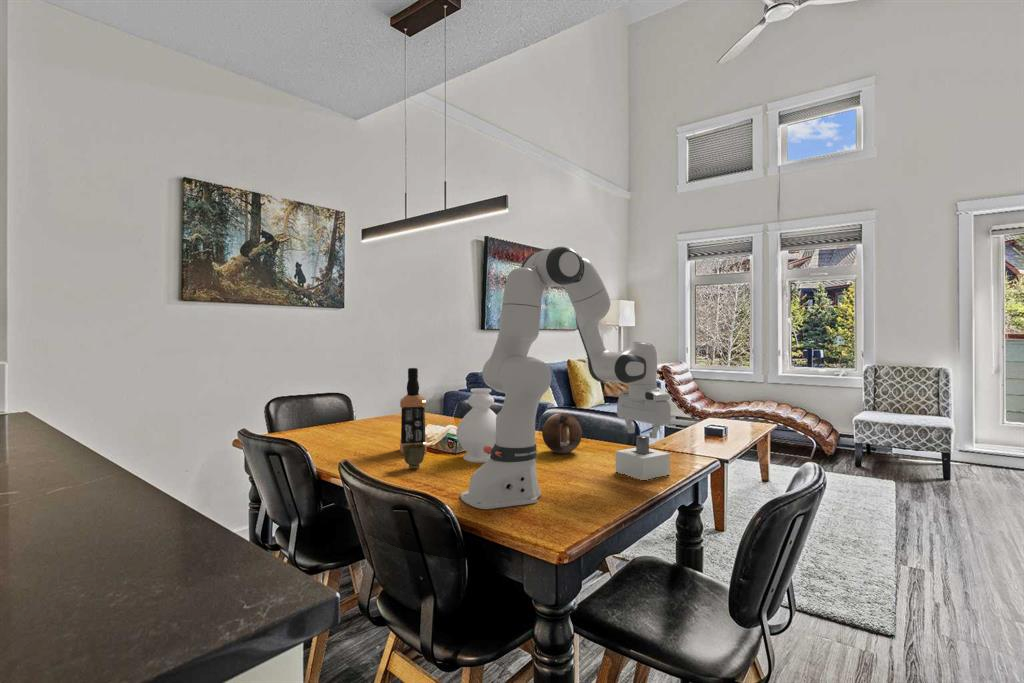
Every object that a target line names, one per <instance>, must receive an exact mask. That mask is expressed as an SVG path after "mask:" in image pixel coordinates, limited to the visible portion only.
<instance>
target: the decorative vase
mask: <svg viewBox="0 0 1024 683" xmlns="http://www.w3.org/2000/svg"><path fill="white" fill-rule="evenodd" d="M470 392H471V393H472V394H471V395H470V396H469V397H468V399H467V402H468V405H470V407H471V409H470V410H469V411H468V412H467V413H466V414H465V415H464V416H463V418H461V420H460V421H459V423H458V425H457V427H456V430H455V431H456V434H455V436H456V440H457V441H458V443H459V444H460V446H461V447H462V448H463V450H464V451H465V452H466V453H467V454H464V456H463V460H464V461H466V462H471V463H485V462H487V461H488V460H489V459H490V455H491V453H490V454H487V453H484V451H485V450H483V448H486V447H485V446H489V447H491V448H493V447H494V445H495V443H496V416H497V414H496V412H494V411H493V410H492V409H491V406H492V405H493V404H494V402H495V398H494V397H493V396H492V395H491V394H490V393H491V392H492V388H486V387H485V388H484V387H482V388H476V387H475V388H471V389H470Z"/></svg>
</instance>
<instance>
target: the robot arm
mask: <svg viewBox="0 0 1024 683" xmlns="http://www.w3.org/2000/svg"><path fill="white" fill-rule="evenodd" d="M560 286H562V287H563V288H564V289H565V291H566V292H567V296H568V298H569V301H570V302H571V304H572V307H573V310H574V313H575V322H576V327H577V331H578V333H579V336H580V339H581V342H582V346H583V347H584V351H585V353H586V357H587V366H588V371H589V374H590V376H591V377H592V378H593V379H594V380H596V381H597V382H600V383H617V384H618V383H619V384H628V390H625V389H622V390H621V391H620V392H619V393H618V400H617V404H616V405H617V406H616V416H617V417H618V418H619V419H625V425H626V427H627V433H628V434H635V433H636V432H635V431H636V430H635V429H636V428H635V427H634V426H633V422H634V421H635V422H640V423H641V422H642V423H645V424H649V425H650V424H651V428H652V431H651V432H649V436H648V437H649V439H657V438H658V433H659V430H660V429H661V426H663V427H664V426H669V425H670V423H671V420H672V419H671V412H672V411H671V404H670V402H669V401H670V398H671V394H670V393H669V392H666V391H665V390H663V389H661V388H659V387H658V381H657V377H656V376H657V373H658V372H657V371H658V355H657V354H658V353H657V349H656V347H655V345H653V344H652V343H650V342H649V343H648V342H645V341H644V342H643V341H633V342H632V343H631V344H630V345H629V346H627V348H624V349H623V350H620V351H619V352H616V351H609V350H608V349H607V348H606V347H605V345H604V342H603V339H602V337H601V333H600V330H599V322H600V321H601V320H602V319H604V318H605V317H606V316H607V315H608V313H609V311H610V308H611V300H610V296H609V293H608V290H607V289H606V286H605V284H604V282H603V280H602V278H601V276H600V274H599V273H598V271H597V269H596V267H595V266H594V264H593V263H592V262H591V261H590V260H589V259H587V258H582V257H581V255H579V253H578V252H577V251H576V250H574V249H573V248H571V247H568V246H557V247H555V248H554V247H553V248H545V249H542V250H540V251H538V252H535V253H531V254H530V255H528V256H527V257H526V258H525V260H523V262H522V263H521V266H520V267H517V268H513V269H512V270H511V271H510V272H509V273H508V275H507V279H506V281H505V285H504V290H503V296H502V304H501V312H500V321H499V322H500V323H499V330H498V335H497V340H495V341H496V342H495V344H494V347H493V350H492V353H491V355H490V357H489V358H488V359H487V361H486V362H485V363H484V364H483V367H482V371H481V372H482V373H481V374H482V375H481V376H482V379H483V382H484V383H485V384H486V385H487V386H488V387H489V388H490V389H491V390H494V391H495V392H498V393H501V394H504V395H505V396H504V401H503V404H502V407H501V409H500V411H499V412H497V414H496V415H497V416H496V443H495V445H494V447H493V448H491V447H489V446H485V447H486V448H483V450H485V451H484V453H487V454H490V453H491V455H490V459H489V460H488V461H487V462H483V464H482V465H481V466H480V467H479V468H477V470H476V471H475V472H473V473H472V474H471V476H470V480H469V486H468V490H464V491H462V492H461V494H460V499H461V501H462V502H464V503H465V504H467V505H469V506H471V507H473V508H477V509H480V510H491V509H498V508H508V507H513V506H514V507H515V506H516V507H517V506H522V505H530V504H536V503H537V502H538V498H540V497H541V495H542V493H541V490H540V485H539V481H538V475H537V465H536V462H537V454H538V453H537V450H538V449H537V448H538V447H537V443H536V416H537V413H538V409H539V408H538V407H539V404H540V402H541V400H542V397H543V396H544V395H545V393H547V391H548V390H549V389H550V387H551V384H552V380H553V379H552V376H553V375H552V371H551V369H550V367H549V365H548V364H547V363H546V362H544V361H542V360H541V359H538V358H535V357H533V356H532V357H531V356H528V353H529V350H530V348H531V346H532V344H533V343H534V341H536V340H537V339H538V337H539V334H540V325H541V323H540V322H541V311H542V297H543V293H544V291H545V289H546V288H557V287H560Z"/></svg>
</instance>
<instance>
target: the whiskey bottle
mask: <svg viewBox="0 0 1024 683" xmlns="http://www.w3.org/2000/svg"><path fill="white" fill-rule="evenodd" d="M418 371H419V369H418V368H417V367H409V368H408V369H407V379H408V380H407V382H406V383H407V384H406V394H405V395H404V396H403V397H402V398H400V400H399V403H400V404H399V407H400V408H401V416H400V417H401V418H400V419H401V421H400V423H401V425H400V428H401V429H400V431H401V432H400V440H399V455H401V456H402V455H403V456H404V454H403V445H404V444H405V445H406V446H407V444H408V445H410V443H411V444H413V443H414V444H415V445H417V443H418V444H420V443H422V444H424V446H425V452H424V455H425V454H427V453H428V451H427V450H428V448H427V440H426V414H425V413H426V412H425V408H426V407H427V401H426V398H424V397H423V396H422V395H420V393H419V392H420V383H419V379H418V377H419V376H418V374H419V372H418Z"/></svg>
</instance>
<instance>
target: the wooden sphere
mask: <svg viewBox="0 0 1024 683" xmlns="http://www.w3.org/2000/svg"><path fill="white" fill-rule="evenodd" d="M541 433H542V435H541V436H542V440H543V443H544V444H545V445H546V447H547V448H548V449H549V450H550V451H552V452H553V453H557V454H568V453H570V452H572V451H573V452H574V450H576V448H577V447H579V445H580V443H581V441H582V437H583V430H582V426H581V424H580V422H579V420H577V418H576V417H575V416H573V415H571V414H568V413H564V412H559V413H555V414H552V415H551V416H549V417H548V418H547V420H545V422H544V424H543V427H542V431H541Z"/></svg>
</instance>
